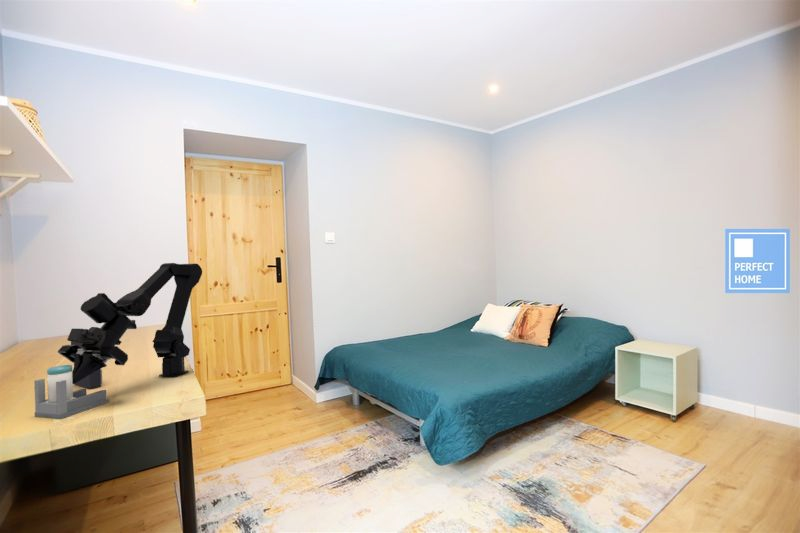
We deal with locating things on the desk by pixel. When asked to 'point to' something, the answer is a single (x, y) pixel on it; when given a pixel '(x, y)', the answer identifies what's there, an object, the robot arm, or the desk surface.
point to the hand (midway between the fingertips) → (71, 383)
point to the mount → (65, 401)
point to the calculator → (89, 376)
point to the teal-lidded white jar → (58, 375)
